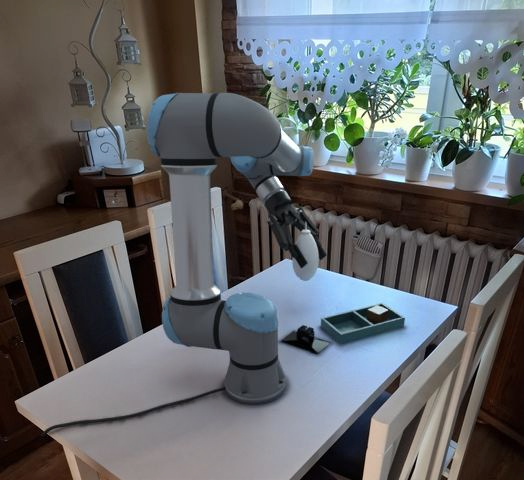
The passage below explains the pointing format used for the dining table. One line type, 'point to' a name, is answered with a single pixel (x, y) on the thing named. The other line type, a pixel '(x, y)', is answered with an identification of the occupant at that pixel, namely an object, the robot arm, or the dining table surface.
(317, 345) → the build plate
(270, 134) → the robot arm
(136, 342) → the dining table surface
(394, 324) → the tray
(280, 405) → the dining table surface
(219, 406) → the dining table surface
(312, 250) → the sauce bottle
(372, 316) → the walnut block
